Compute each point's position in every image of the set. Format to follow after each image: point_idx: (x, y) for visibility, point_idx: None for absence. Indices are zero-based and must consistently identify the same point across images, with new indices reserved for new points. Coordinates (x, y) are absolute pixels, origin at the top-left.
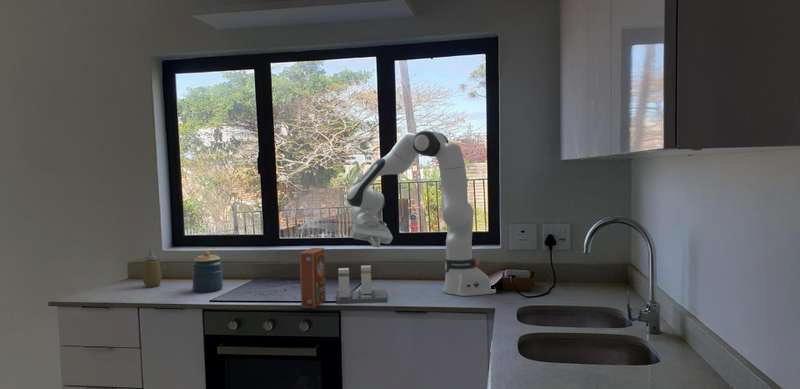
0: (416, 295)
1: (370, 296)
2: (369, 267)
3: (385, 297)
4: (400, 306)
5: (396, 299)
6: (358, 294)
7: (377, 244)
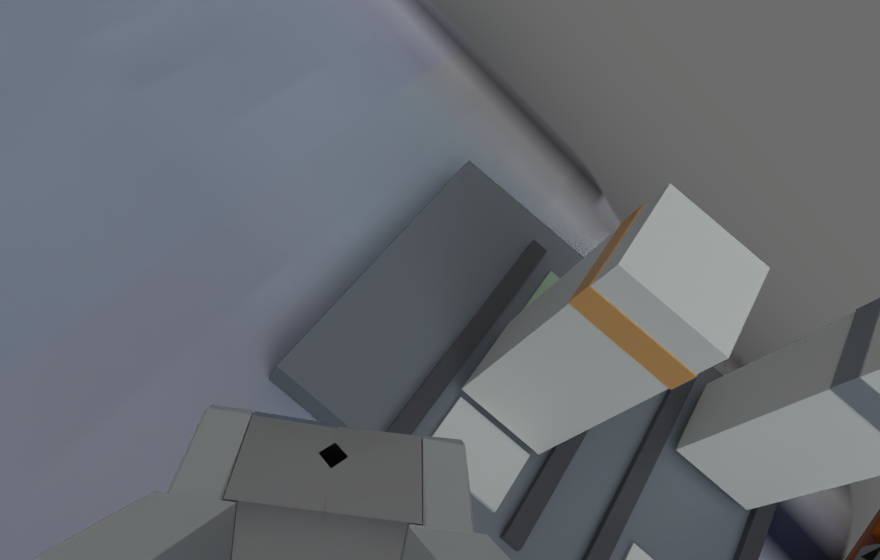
0: (120, 94)
1: (549, 281)
2: (680, 197)
3: (466, 176)
4: (462, 40)
5: (354, 158)
6: None
7: (336, 429)
